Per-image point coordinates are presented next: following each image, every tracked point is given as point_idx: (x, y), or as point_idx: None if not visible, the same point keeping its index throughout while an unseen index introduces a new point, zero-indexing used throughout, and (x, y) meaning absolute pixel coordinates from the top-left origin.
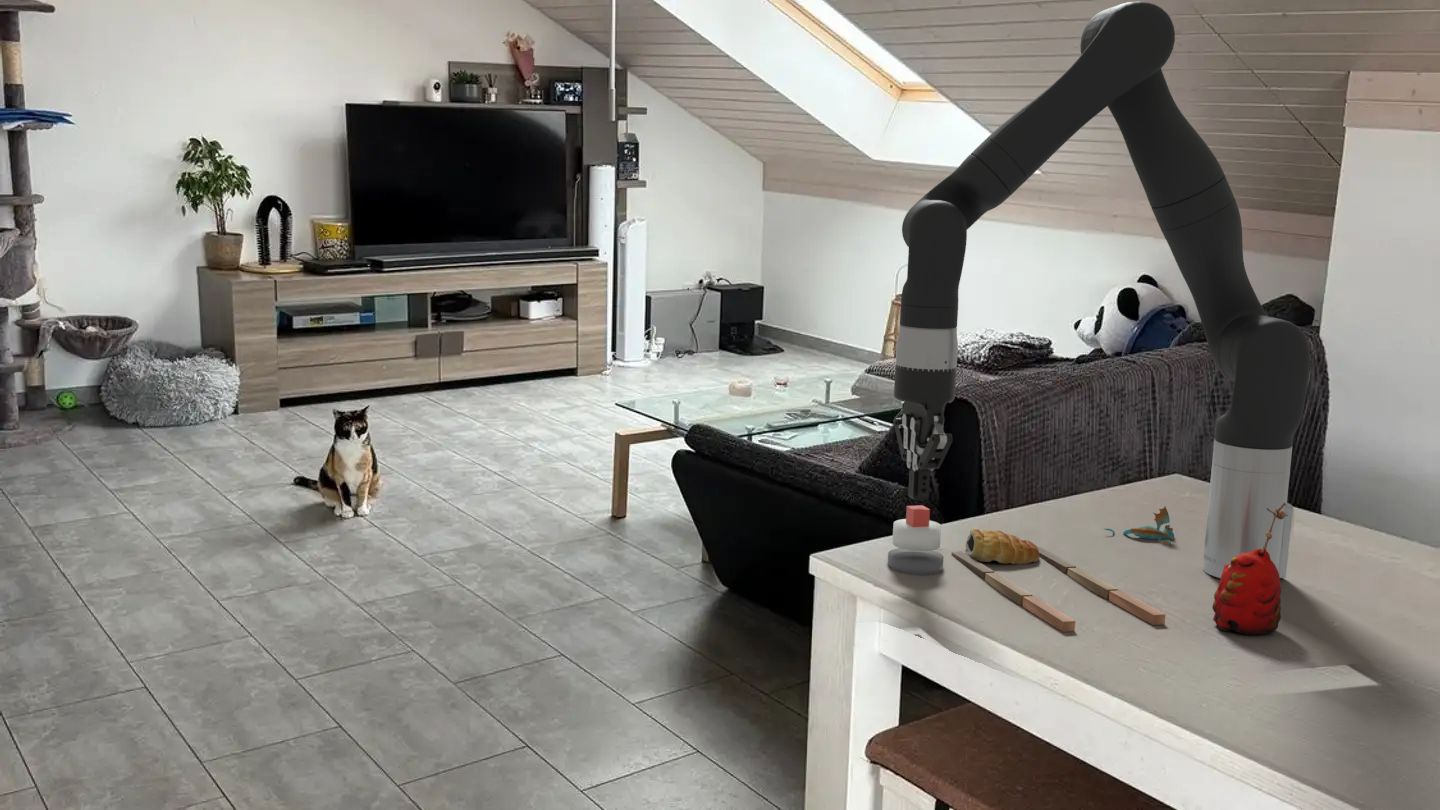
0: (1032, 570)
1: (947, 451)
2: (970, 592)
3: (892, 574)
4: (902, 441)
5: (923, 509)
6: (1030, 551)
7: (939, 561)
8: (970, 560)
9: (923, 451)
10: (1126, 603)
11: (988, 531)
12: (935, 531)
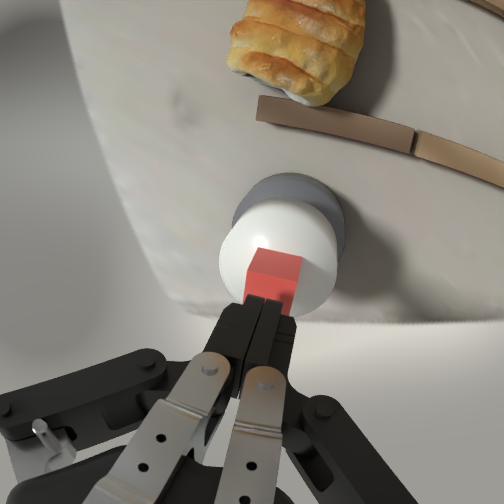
0: (375, 5)
1: (400, 482)
2: (440, 217)
3: None
4: (117, 435)
5: (289, 295)
6: None
7: (341, 217)
8: (326, 120)
9: (315, 495)
10: None
11: (275, 38)
12: (335, 258)
